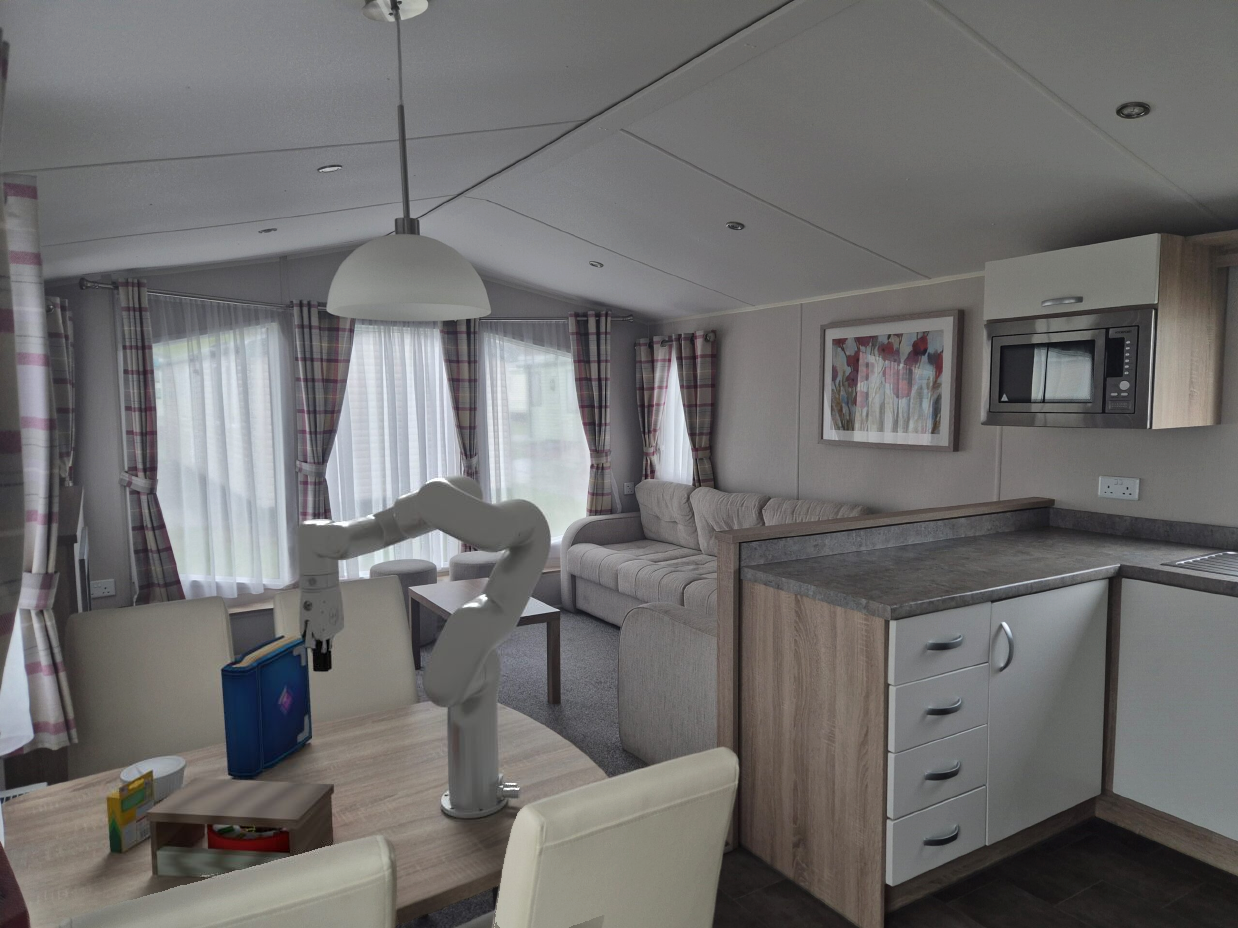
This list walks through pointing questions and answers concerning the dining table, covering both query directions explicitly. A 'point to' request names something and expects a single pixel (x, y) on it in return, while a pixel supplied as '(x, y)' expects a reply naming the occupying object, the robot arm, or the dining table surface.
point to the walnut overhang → (236, 822)
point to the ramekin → (158, 774)
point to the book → (266, 705)
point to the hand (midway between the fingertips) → (322, 670)
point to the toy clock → (248, 838)
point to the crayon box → (130, 813)
